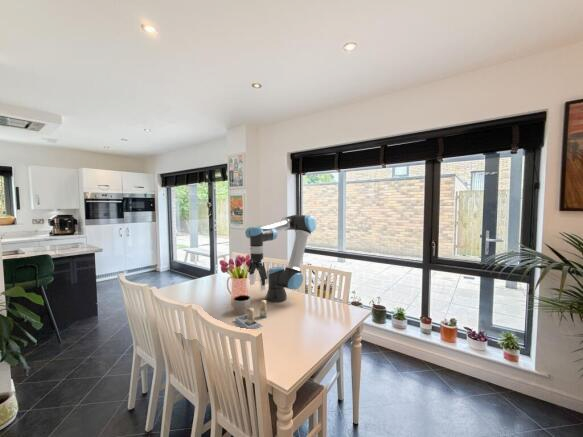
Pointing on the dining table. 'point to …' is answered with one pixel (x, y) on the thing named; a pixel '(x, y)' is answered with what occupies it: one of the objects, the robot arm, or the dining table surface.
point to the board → (242, 323)
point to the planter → (241, 304)
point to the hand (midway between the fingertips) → (257, 287)
